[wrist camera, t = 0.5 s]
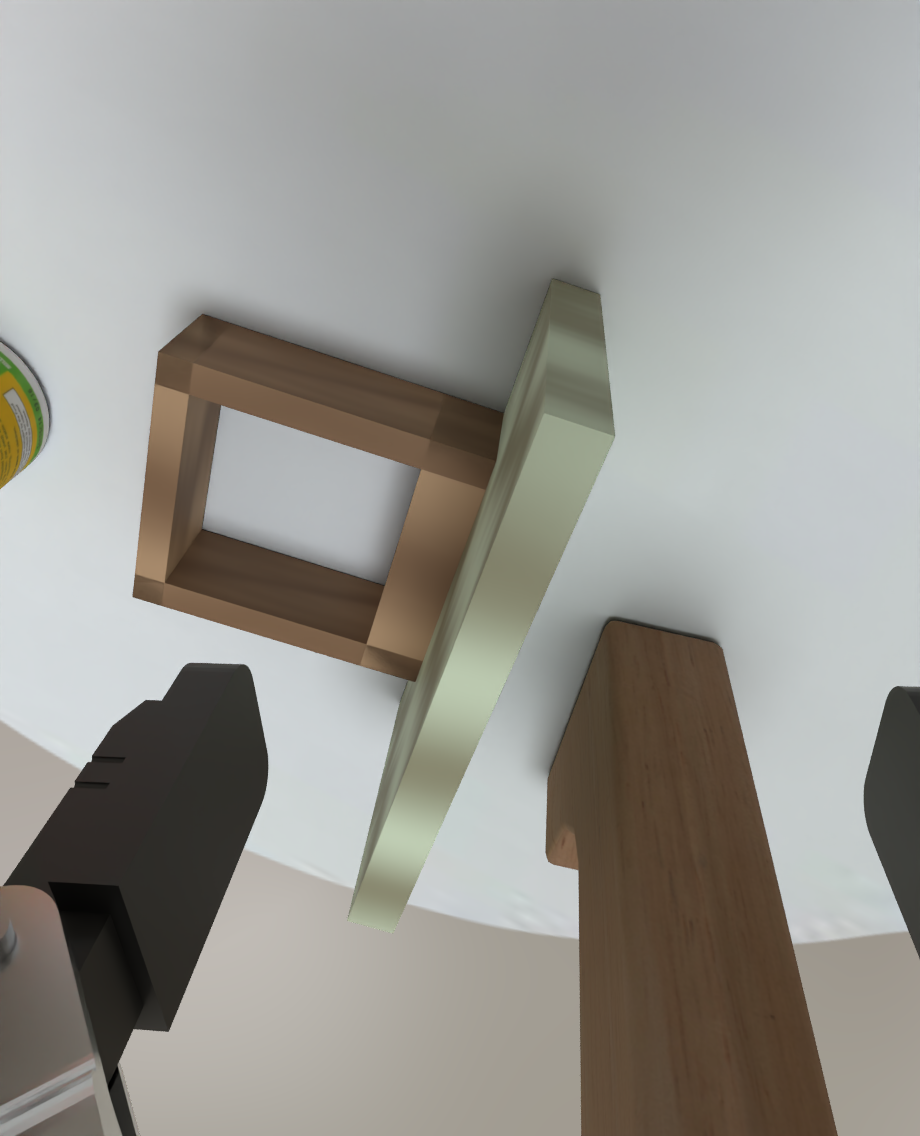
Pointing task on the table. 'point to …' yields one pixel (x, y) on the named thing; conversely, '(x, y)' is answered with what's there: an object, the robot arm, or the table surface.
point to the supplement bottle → (19, 416)
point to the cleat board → (424, 552)
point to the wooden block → (677, 906)
